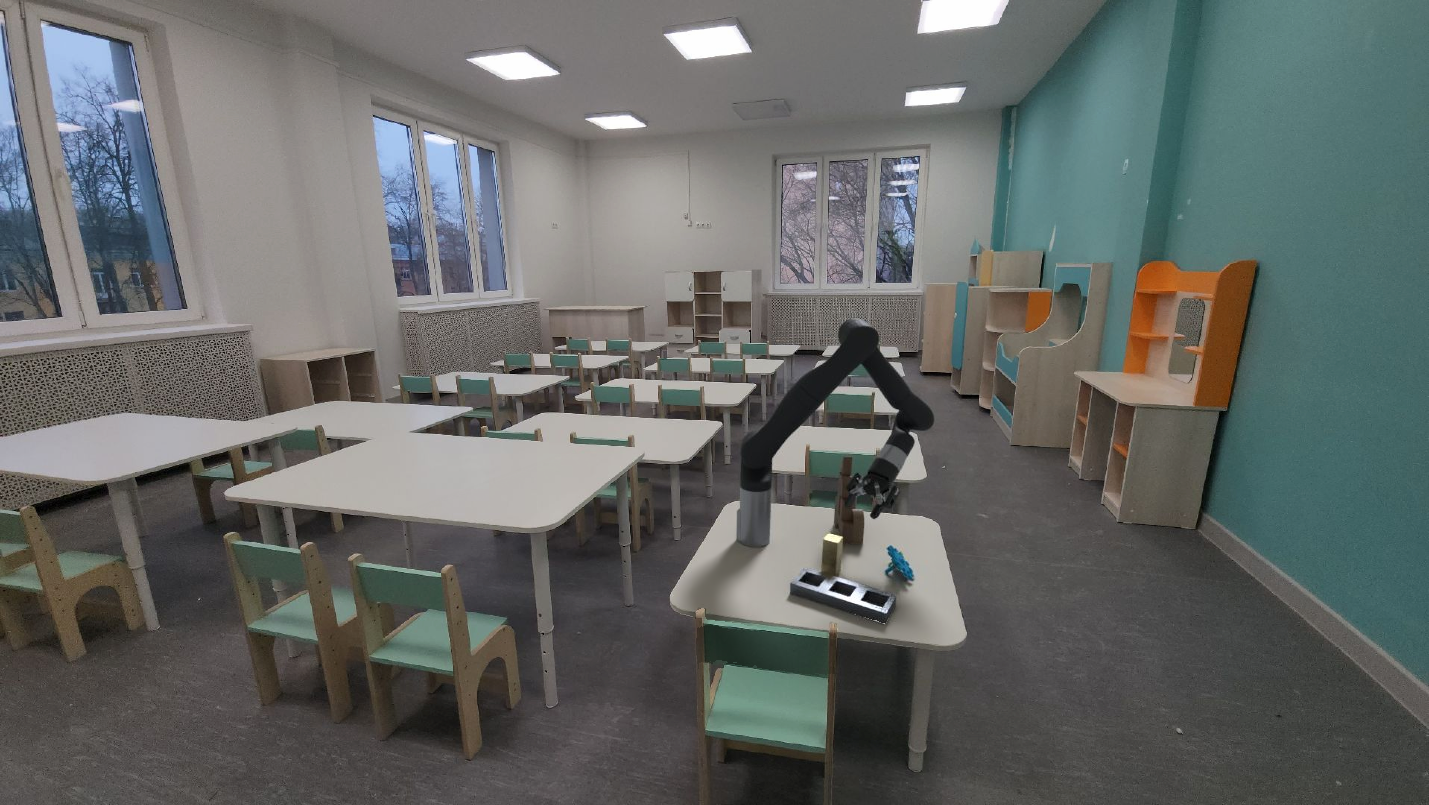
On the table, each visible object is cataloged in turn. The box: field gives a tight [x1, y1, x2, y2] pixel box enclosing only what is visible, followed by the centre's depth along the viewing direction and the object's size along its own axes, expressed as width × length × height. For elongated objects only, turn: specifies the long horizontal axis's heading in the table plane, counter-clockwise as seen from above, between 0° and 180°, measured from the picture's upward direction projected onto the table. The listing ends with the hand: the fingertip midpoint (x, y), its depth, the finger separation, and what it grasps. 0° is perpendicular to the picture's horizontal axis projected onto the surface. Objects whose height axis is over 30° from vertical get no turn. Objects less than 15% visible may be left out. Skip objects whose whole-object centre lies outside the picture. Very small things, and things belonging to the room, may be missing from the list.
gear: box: [884, 545, 915, 581], centre depth 154 cm, size 11×6×10 cm
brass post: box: [820, 533, 844, 577], centre depth 154 cm, size 4×4×10 cm
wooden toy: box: [833, 455, 865, 545], centre depth 175 cm, size 16×7×25 cm, turn 178°
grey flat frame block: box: [789, 566, 898, 624], centre depth 142 cm, size 24×9×3 cm, turn 58°
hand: (859, 512), depth 158 cm, fingers open, 8 cm apart
